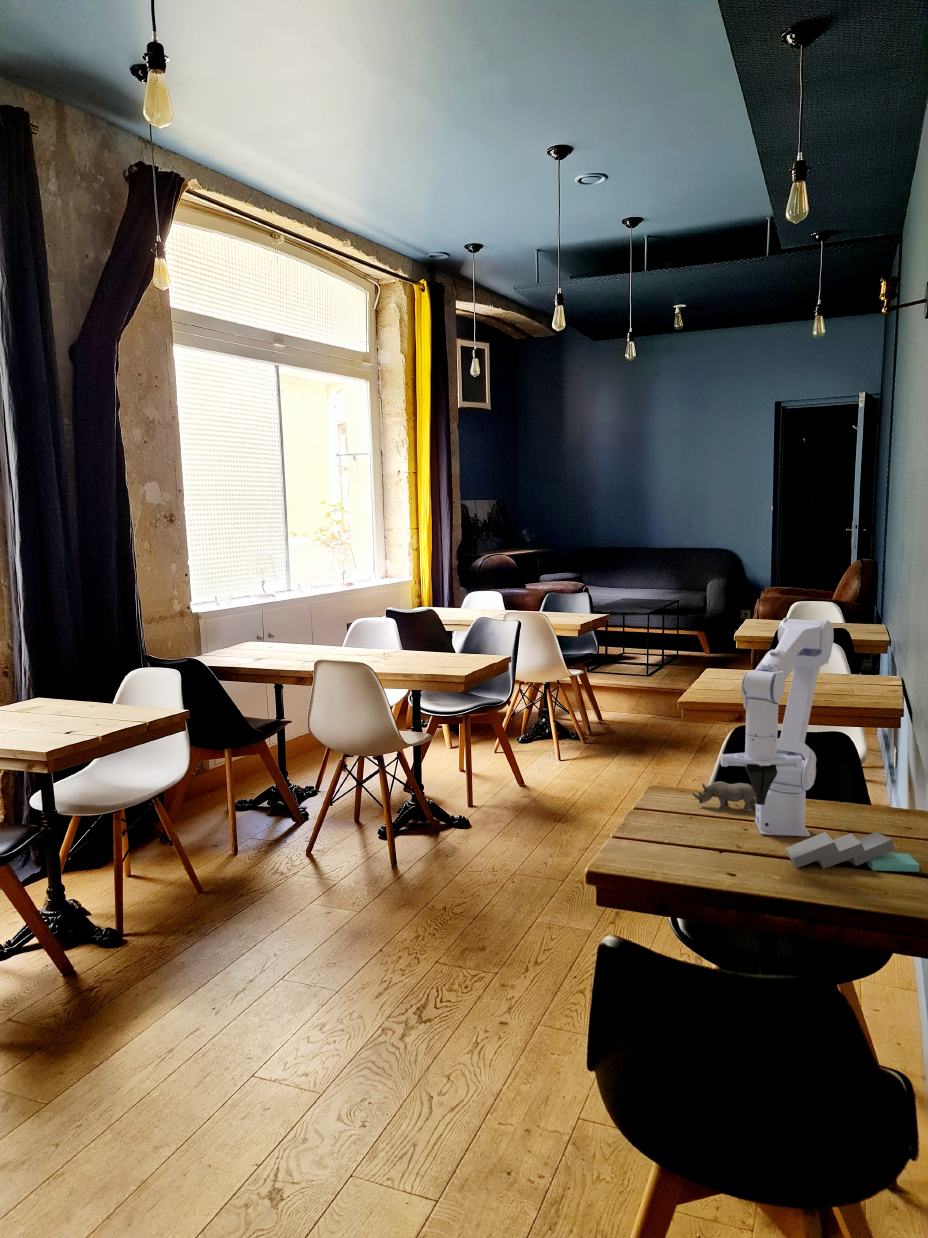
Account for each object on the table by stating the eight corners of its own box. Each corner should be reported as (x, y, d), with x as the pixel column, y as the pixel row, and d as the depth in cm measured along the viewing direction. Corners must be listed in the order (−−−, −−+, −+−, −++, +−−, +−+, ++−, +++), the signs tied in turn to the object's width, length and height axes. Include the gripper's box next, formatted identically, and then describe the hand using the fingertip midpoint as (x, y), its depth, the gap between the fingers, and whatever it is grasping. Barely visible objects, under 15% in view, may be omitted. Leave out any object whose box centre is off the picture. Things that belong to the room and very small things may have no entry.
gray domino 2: (819, 859, 156) (861, 843, 155) (810, 849, 161) (851, 833, 160) (823, 869, 156) (865, 853, 156) (814, 858, 161) (855, 842, 160)
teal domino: (872, 863, 155) (919, 864, 154) (863, 852, 160) (908, 854, 159) (872, 873, 156) (918, 875, 155) (863, 862, 161) (908, 864, 160)
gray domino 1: (792, 858, 157) (834, 842, 156) (784, 848, 162) (825, 831, 161) (797, 868, 157) (838, 851, 156) (789, 857, 162) (829, 841, 161)
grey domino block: (852, 856, 156) (891, 839, 157) (838, 847, 161) (876, 831, 162) (856, 866, 157) (895, 849, 157) (841, 857, 162) (879, 841, 162)
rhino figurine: (692, 802, 194) (692, 777, 193) (756, 807, 190) (756, 781, 189) (691, 808, 190) (692, 782, 189) (757, 813, 186) (757, 786, 185)
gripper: (725, 738, 159) (723, 809, 160) (807, 739, 156) (804, 811, 158) (719, 728, 165) (718, 796, 167) (797, 730, 163) (795, 799, 165)
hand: (759, 803), depth 163 cm, fingers closed
